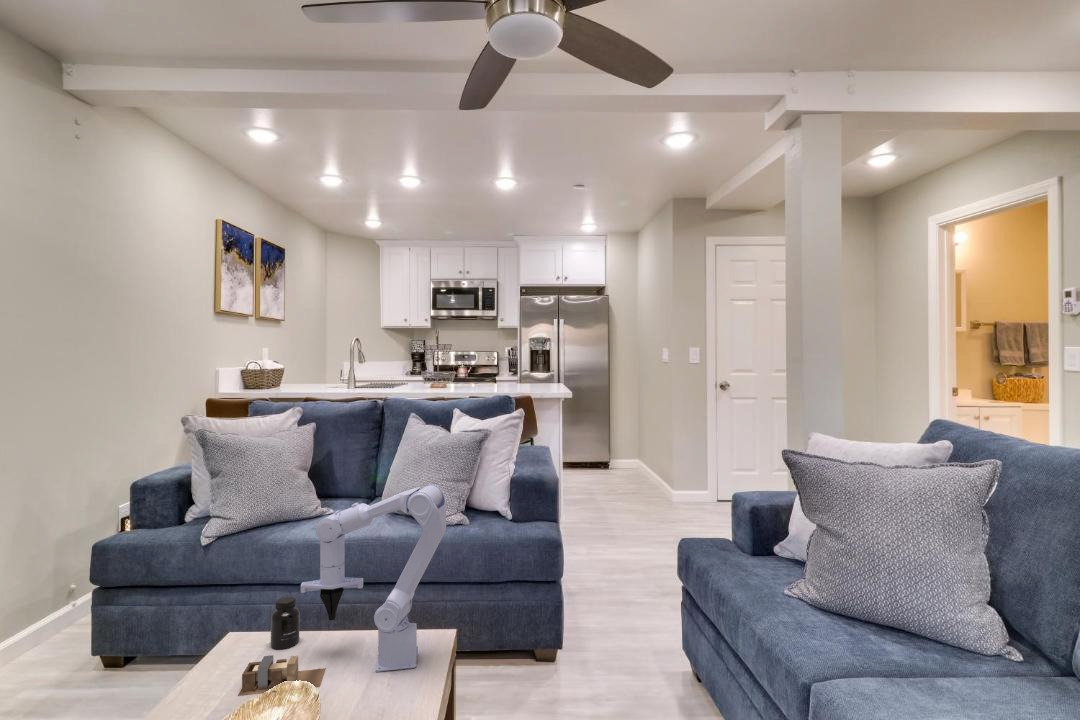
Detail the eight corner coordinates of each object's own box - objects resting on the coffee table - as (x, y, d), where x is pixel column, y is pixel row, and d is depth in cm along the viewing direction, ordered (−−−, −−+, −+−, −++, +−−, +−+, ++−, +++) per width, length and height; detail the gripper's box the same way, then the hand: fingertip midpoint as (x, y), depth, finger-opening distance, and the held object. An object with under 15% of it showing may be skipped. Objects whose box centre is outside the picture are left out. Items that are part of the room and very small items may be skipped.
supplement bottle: (288, 654, 142) (288, 606, 142) (264, 651, 143) (264, 604, 144) (305, 641, 149) (305, 595, 149) (282, 639, 150) (282, 593, 150)
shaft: (298, 674, 131) (298, 655, 131) (294, 683, 127) (294, 663, 127) (256, 679, 129) (256, 659, 129) (251, 687, 125) (251, 667, 125)
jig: (326, 671, 134) (326, 652, 134) (319, 690, 126) (319, 669, 126) (248, 679, 131) (248, 659, 131) (237, 699, 123) (237, 678, 123)
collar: (273, 676, 130) (273, 655, 130) (267, 689, 125) (267, 666, 125) (264, 677, 130) (264, 656, 130) (257, 690, 125) (257, 667, 125)
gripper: (364, 556, 146) (364, 609, 145) (304, 560, 143) (304, 614, 142) (361, 565, 139) (361, 621, 138) (298, 570, 136) (298, 626, 136)
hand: (332, 618), depth 140 cm, fingers closed
